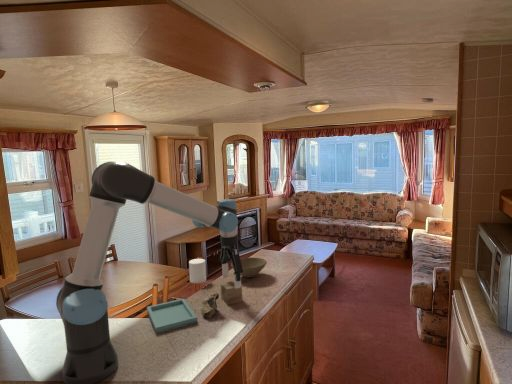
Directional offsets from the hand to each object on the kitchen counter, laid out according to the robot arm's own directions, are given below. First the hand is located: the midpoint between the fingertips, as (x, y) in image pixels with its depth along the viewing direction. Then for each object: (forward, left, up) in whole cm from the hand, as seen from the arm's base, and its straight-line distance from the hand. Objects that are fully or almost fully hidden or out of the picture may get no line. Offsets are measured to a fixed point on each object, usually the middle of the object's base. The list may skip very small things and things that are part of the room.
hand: (231, 282), depth 146 cm
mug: (+32, +6, -8) cm, 34 cm away
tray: (-2, +27, -8) cm, 28 cm away
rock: (-7, +13, -8) cm, 17 cm away
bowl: (+21, -19, -8) cm, 29 cm away
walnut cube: (0, 0, -8) cm, 8 cm away
